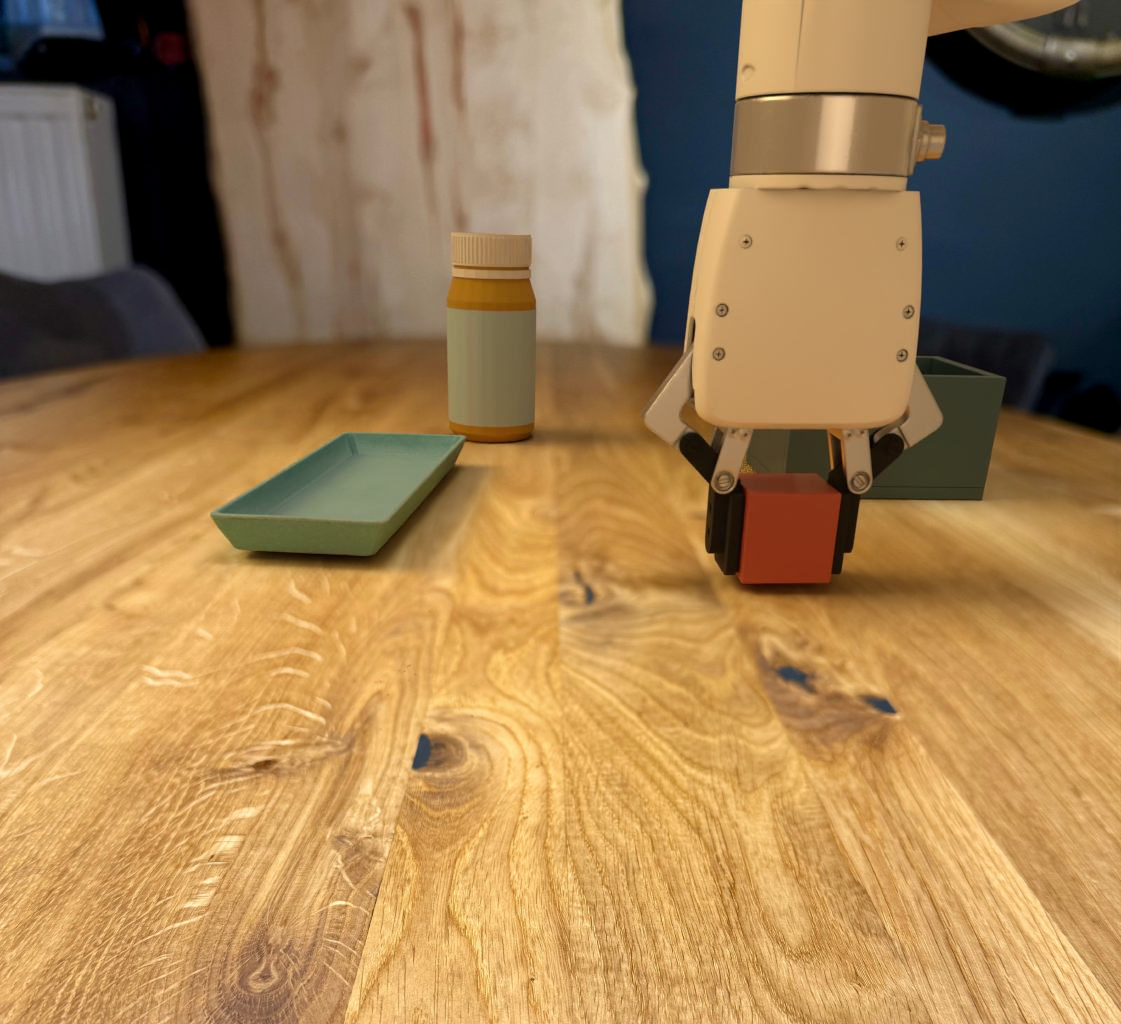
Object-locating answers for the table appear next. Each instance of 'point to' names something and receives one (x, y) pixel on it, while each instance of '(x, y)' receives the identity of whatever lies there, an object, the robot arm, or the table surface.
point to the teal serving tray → (340, 494)
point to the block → (788, 528)
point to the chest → (928, 466)
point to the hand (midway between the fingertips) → (776, 563)
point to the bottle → (491, 337)
